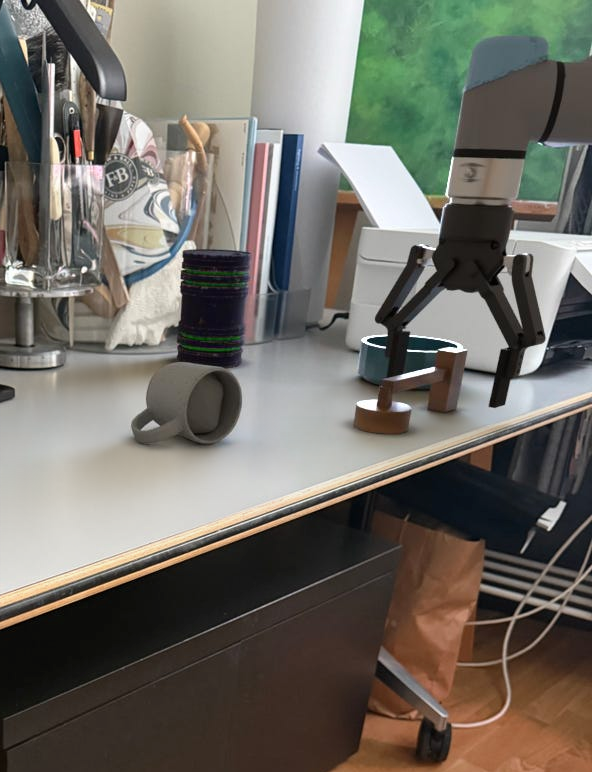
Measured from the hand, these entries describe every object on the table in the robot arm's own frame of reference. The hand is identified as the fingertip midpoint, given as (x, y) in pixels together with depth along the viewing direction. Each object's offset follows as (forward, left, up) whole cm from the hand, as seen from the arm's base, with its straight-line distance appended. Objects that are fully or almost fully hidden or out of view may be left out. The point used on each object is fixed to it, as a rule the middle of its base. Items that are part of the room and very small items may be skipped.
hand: (442, 395), depth 113 cm
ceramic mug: (+21, +30, -2) cm, 37 cm away
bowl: (+7, -15, -2) cm, 17 cm away
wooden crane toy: (+2, +7, -2) cm, 8 cm away
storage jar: (+35, -12, -2) cm, 37 cm away
